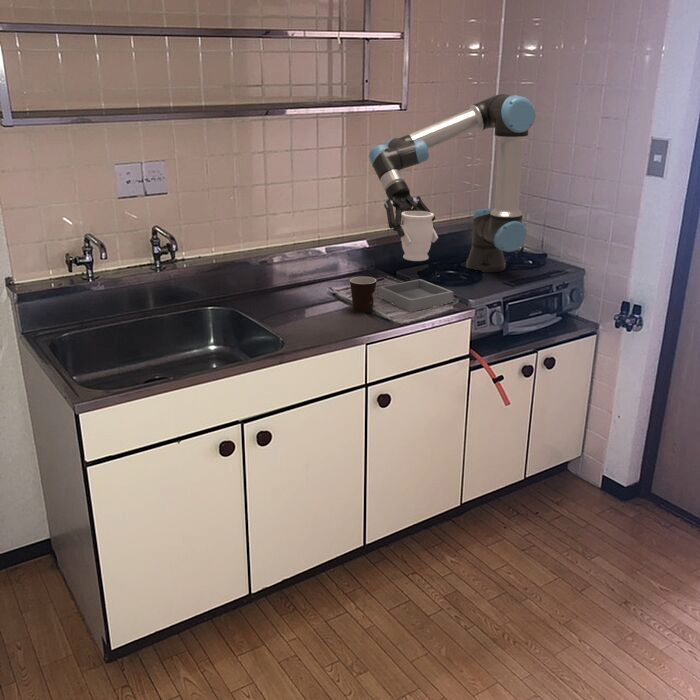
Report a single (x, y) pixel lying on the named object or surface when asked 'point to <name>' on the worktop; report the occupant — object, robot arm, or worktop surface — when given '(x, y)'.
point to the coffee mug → (363, 293)
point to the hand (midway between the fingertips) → (422, 242)
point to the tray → (415, 295)
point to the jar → (417, 234)
